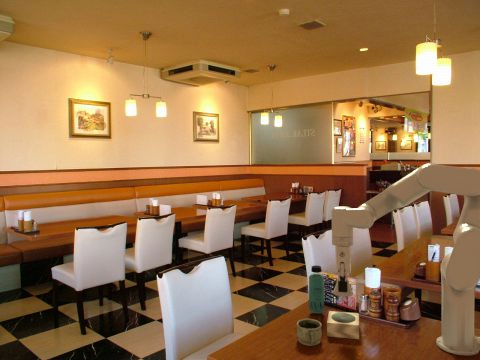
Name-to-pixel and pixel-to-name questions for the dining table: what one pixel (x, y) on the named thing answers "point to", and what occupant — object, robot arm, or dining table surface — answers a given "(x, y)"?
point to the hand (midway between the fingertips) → (343, 288)
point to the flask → (343, 294)
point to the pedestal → (343, 325)
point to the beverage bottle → (316, 290)
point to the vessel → (309, 331)
